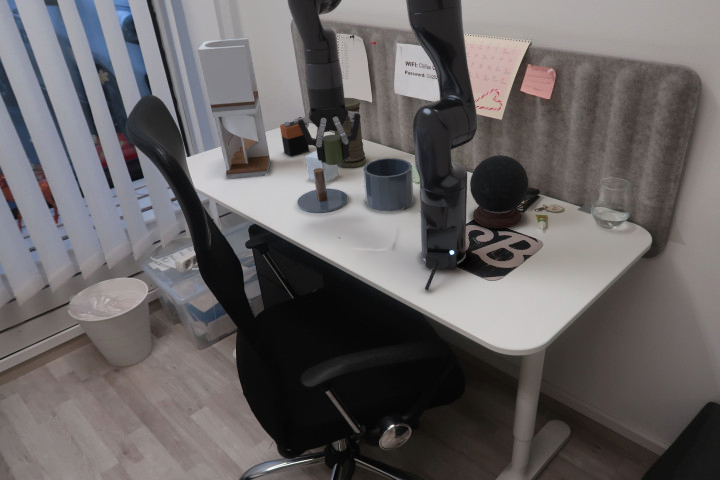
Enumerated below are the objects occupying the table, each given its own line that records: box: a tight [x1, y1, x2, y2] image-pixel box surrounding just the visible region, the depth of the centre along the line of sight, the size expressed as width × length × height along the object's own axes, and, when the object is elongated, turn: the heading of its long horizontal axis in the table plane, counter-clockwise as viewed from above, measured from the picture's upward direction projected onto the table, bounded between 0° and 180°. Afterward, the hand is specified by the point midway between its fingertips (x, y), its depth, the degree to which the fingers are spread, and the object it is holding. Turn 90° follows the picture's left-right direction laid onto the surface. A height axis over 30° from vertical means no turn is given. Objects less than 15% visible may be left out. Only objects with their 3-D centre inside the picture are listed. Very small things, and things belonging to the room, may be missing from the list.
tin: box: [322, 134, 344, 166], centre depth 123 cm, size 4×4×6 cm
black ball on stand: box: [469, 154, 529, 230], centre depth 128 cm, size 13×13×15 cm
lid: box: [296, 168, 349, 214], centre depth 139 cm, size 13×13×9 cm
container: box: [333, 97, 367, 169], centre depth 159 cm, size 9×9×18 cm
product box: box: [305, 149, 339, 183], centre depth 153 cm, size 6×6×7 cm
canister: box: [362, 157, 414, 212], centre depth 138 cm, size 12×12×10 cm
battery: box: [279, 118, 310, 157], centre depth 170 cm, size 4×7×10 cm, turn 129°
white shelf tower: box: [197, 37, 271, 180], centre depth 153 cm, size 11×11×35 cm
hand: (334, 159), depth 125 cm, fingers closed on tin, 4 cm apart
